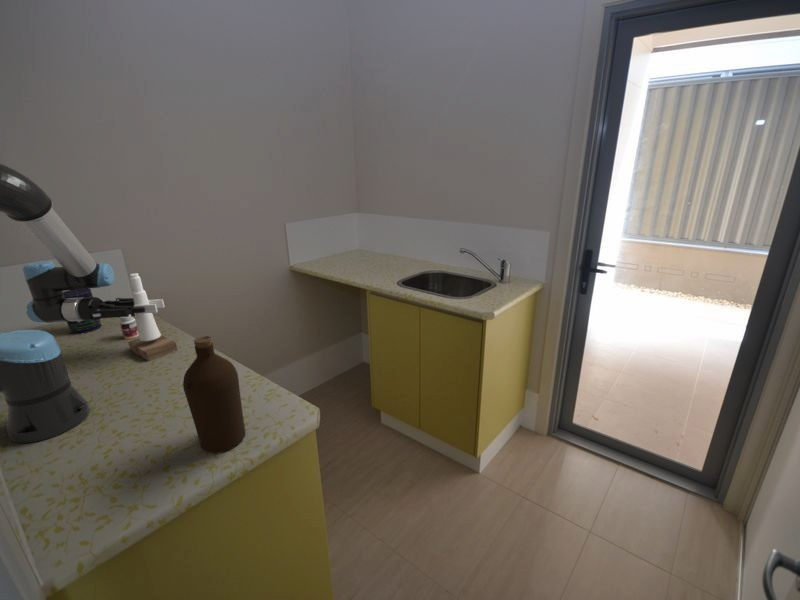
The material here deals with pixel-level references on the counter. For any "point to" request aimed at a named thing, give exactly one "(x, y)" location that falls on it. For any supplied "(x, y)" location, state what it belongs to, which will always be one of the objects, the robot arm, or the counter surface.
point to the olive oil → (214, 399)
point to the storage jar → (84, 325)
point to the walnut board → (152, 347)
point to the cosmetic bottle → (145, 320)
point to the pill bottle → (129, 327)
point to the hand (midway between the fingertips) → (159, 305)
